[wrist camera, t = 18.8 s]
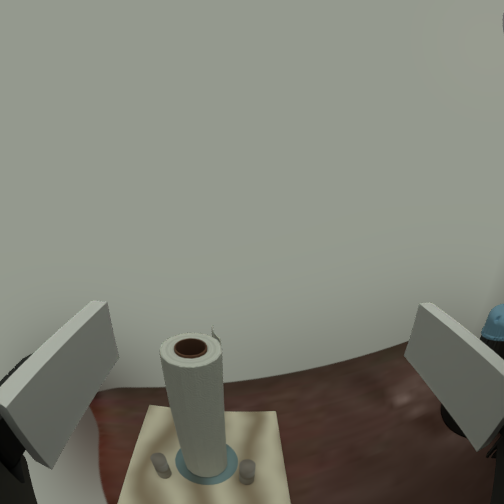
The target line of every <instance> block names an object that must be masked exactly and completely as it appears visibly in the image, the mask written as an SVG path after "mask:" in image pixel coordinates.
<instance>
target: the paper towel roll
mask: <svg viewBox="0 0 504 504" xmlns="http://www.w3.org/2000/svg"><path fill="white" fill-rule="evenodd" d="M159 352H160V358H161V363H162V369H163V374H164V380H165V385H166V390H167V395H168V399H169V404H170V408H171V413H172V417H173V421H174V425H175V429H176V433H177V436H178V440H179V444H180V447H181V451H182V454H183V458H184V461H185V464H186V466H187V469H188V470H190V471H191V472H192V473H193V474H195V475H197V476H200V477H214V476H217V475H219V474H220V473H222V472H223V471H224V470H225V468H226V466H227V450H226V434H225V416H224V394H223V368H222V345H221V339H220V338H219V337H218V336H217V335H216V334H215V333H214V330H213V325H212V337H211V336H209V335H205V334H201V333H184V334H178V335H175V336H173V337H170V338H168V339H167V340H166V341H164V342H163V343H162V345H161V347H160V350H159Z"/></svg>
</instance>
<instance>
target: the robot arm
mask: <svg viewBox="0 0 504 504" xmlns="http://www.w3.org/2000/svg"><path fill="white" fill-rule="evenodd" d="M503 30H504V14H503ZM481 334H482V335H481V337H480V339H478V338H477V337H476V336H475V335H473V334H472V333H471V332H469V331H468V330H467V329H466V328H464V327H463V326H462V325H461V324H459V323H458V322H457V321H455V320H454V319H453V318H452V317H450V316H449V315H448V314H446V313H445V312H444V311H442V310H441V309H439V308H438V307H437V306H435V305H434V304H433V303H421V304H419V307H418V311H417V314H416V318H415V322H414V326H413V329H412V333H411V336H410V339H409V342H408V345H407V349H406V352H405V355H404V356H405V357H406V359H407V360H408V361H409V362H410V364H411V365H412V366H413V367H414V368H415V370H416V371H417V372H418V373H419V375H420V376H421V377H422V378H423V380H424V381H425V382H426V384H427V385H428V386H429V387H430V389H431V390H432V391H433V392H434V394H435V395H436V396H437V398H438V399H439V400H440V402H441V403H442V405H441V413H442V417H443V419H444V421H445V423H446V424H447V425H448V426H449V427H450V428H451V429H452V430H453V431H454V432H456V433H458V434H460V435H462V436H465V437H467V438H468V440H469V441H470V443H471V444H472V445H473V447H474V448H475V450H476V451H477V452H478V451H479V450H481V449H482V448H484V447H485V446H487V445H488V444H490V443H491V441H492V440H493V439H494V438H495V436H496V435H497V434H498V432H500V434H501V435H502V436H501V437H500V438H499V439H498V441H497V442H496V443H495V444H494V446H493V447H492V448H491V449H490V451H489V452H488V453H487V456H486V458H488V457H489V456H490V455H491V454H492V453H493V452H494V450H496V449H497V451H496V452H495V453H494V454H493V456H492V457H491V458H496V468H495V478H494V485H493V491H492V497H491V503H490V504H504V304H500V305H497V306H495V307H494V308H493V309H492V310H491V311H490V313H489V315H488V318H487V320H486V323H485V326H484V327H483V328H482V331H481ZM118 359H119V354H118V350H117V346H116V342H115V337H114V333H113V328H112V324H111V319H110V314H109V309H108V303H107V302H103V301H94V300H92V301H91V302H90V303H89V304H88V305H86V306H85V307H84V308H83V309H82V310H81V311H79V312H78V313H77V314H76V315H75V316H74V317H73V318H71V319H70V320H69V321H68V322H67V323H66V324H65V325H64V326H62V328H60V329H59V330H58V331H57V332H56V333H55V334H54V335H53V336H51V337H50V338H49V339H48V340H47V341H46V342H45V343H44V344H43V345H42V346H41V347H40V348H38V349H37V350H36V352H34V353H33V354H31V355H29V356H27V357H25V358H23V359H22V360H21V361H20V362H19V363H18V364H17V365H16V366H15V369H14V368H13V369H12V370H11V371H10V372H9V373H8V375H6V376H5V377H4V378H3V379H2V380H1V381H0V504H37V501H36V498H35V494H34V490H33V487H32V483H31V479H30V474H29V470H28V465H27V461H26V459H25V457H24V456H23V453H24V451H25V450H27V452H28V453H29V454H30V455H31V456H32V458H33V459H34V460H35V461H37V462H39V463H41V464H42V465H44V466H46V467H48V468H50V469H53V467H54V465H55V463H56V462H57V459H58V458H59V456H60V454H61V452H62V451H63V449H64V447H65V445H66V443H67V442H68V440H69V438H70V436H71V435H72V433H73V431H74V430H75V428H76V426H77V424H78V422H79V421H80V419H81V418H82V416H83V414H84V413H85V411H86V409H87V408H88V406H89V404H90V403H91V401H92V399H93V398H94V396H95V395H96V393H97V391H98V390H99V388H100V386H101V385H102V383H103V382H104V380H105V379H106V377H107V375H108V374H109V372H110V371H111V369H112V368H113V366H114V365H115V363H116V362H117V360H118Z"/></svg>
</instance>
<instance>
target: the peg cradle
mask: <svg viewBox="0 0 504 504" xmlns="http://www.w3.org/2000/svg"><path fill="white" fill-rule="evenodd" d="M224 416H225V434H226V450H227V466H226V468H225V470H224V471H223V472H222V473H220V474H219V475H217V476H214V477H200V476H197V475H195V474H193V473H192V472H191V471H190V470H188V469H187V466H186V464H185V461H184V458H183V454H182V451H181V447H180V444H179V440H178V436H177V433H176V429H175V425H174V421H173V417H172V413H171V408H169V407H161V406H154V405H150V406H149V408H148V411H147V414H146V417H145V420H144V423H143V426H142V428H141V431H140V434H139V437H138V440H137V443H136V446H135V449H134V452H133V455H132V459H131V462H130V465H129V468H128V471H127V474H126V478H125V481H124V484H123V488H122V491H121V494H120V498H119V501H118V504H291V503H290V497H289V491H288V485H287V478H286V472H285V466H284V460H283V454H282V447H281V441H280V435H279V429H278V422H277V416H276V411H269V412H224Z"/></svg>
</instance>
